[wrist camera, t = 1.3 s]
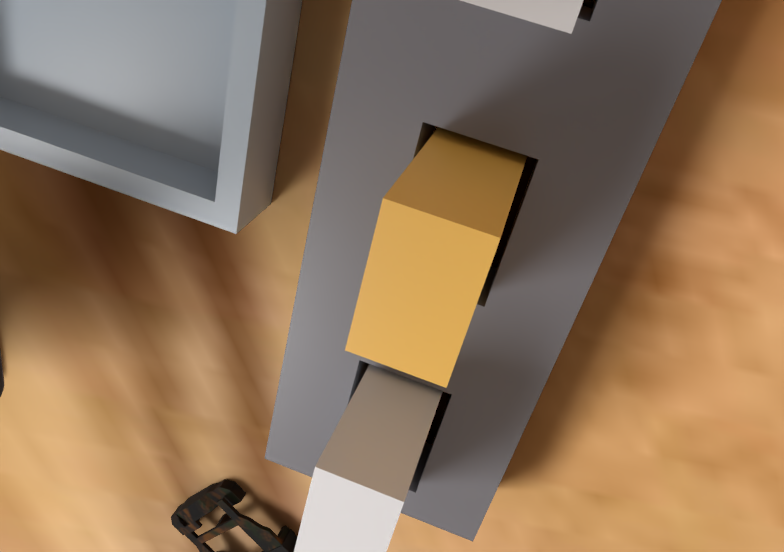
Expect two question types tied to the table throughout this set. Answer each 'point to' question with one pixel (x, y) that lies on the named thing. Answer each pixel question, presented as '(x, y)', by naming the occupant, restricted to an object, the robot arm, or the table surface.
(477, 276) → the block
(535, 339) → the fuse holder
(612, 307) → the table surface
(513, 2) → the block
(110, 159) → the tray
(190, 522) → the black knife
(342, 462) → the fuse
